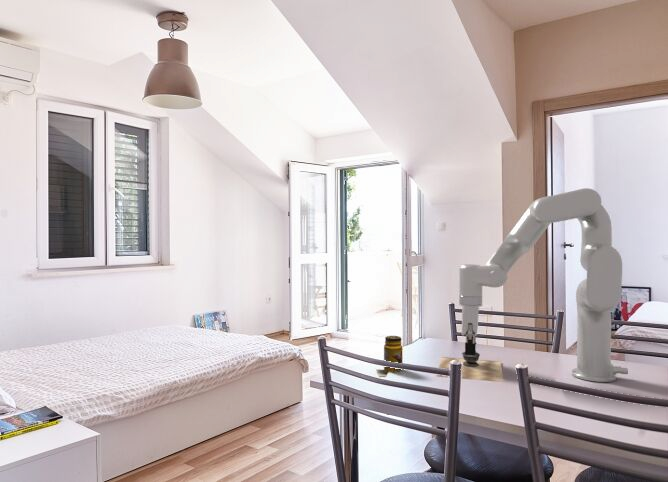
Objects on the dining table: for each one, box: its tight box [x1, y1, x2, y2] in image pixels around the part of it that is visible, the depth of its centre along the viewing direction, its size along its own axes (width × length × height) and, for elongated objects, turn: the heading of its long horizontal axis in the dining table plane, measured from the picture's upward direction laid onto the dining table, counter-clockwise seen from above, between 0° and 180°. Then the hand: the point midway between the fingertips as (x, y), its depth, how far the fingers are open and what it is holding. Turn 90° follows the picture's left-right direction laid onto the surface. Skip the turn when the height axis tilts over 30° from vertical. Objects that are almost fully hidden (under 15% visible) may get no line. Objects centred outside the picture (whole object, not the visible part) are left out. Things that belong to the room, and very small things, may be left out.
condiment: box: [375, 335, 403, 377], centre depth 161 cm, size 7×8×12 cm
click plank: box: [438, 356, 503, 374], centre depth 167 cm, size 20×12×1 cm, turn 73°
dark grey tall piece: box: [461, 341, 481, 367], centre depth 166 cm, size 6×6×12 cm
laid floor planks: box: [435, 368, 504, 383], centre depth 156 cm, size 20×10×1 cm, turn 73°
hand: (470, 351), depth 167 cm, fingers open, 9 cm apart
